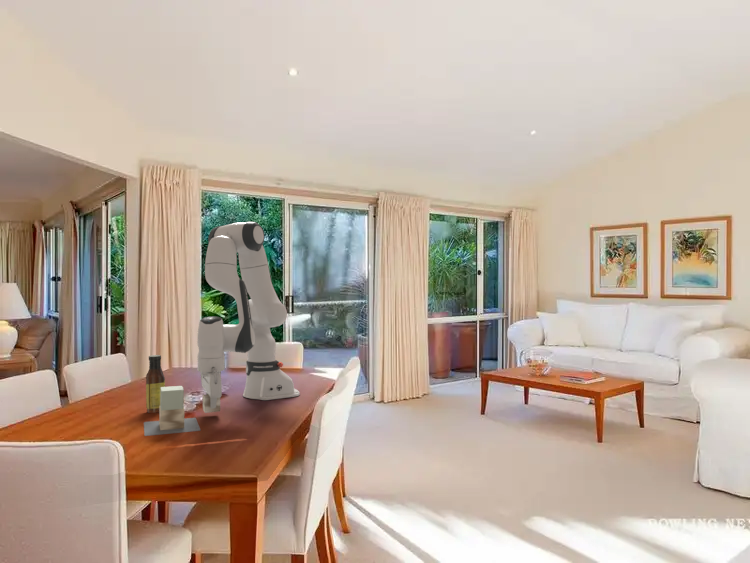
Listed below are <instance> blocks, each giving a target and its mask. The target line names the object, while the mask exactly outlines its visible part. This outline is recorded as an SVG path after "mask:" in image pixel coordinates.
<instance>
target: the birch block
mask: <svg viewBox="0 0 750 563" xmlns="http://www.w3.org/2000/svg"><path fill="white" fill-rule="evenodd" d="M158 413H159V414H158V415H159V417H158V418H159V419H158V421H159V426H160V430H169V429H179V428H184V419H185V408H184V409H175V410H163V411H161V406H159V412H158Z"/></svg>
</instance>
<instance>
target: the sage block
mask: <svg viewBox="0 0 750 563" xmlns="http://www.w3.org/2000/svg"><path fill="white" fill-rule="evenodd" d="M184 396H185V389H184V387H183V385H176V386H175V385H173V386H165V387H161V396H160V406H161V411H163V410H175V409H184V410H185V407H184V406H185V405H184V404H185V403H184V401H185V399H184Z"/></svg>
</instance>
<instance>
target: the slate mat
mask: <svg viewBox="0 0 750 563" xmlns="http://www.w3.org/2000/svg"><path fill="white" fill-rule="evenodd" d="M143 431H144V433H143V434H144V437H148V436H149V437H150V436H159V435H168V434H169V435H170V434H179V433H188V432H189V433H190V432H199V431H201V428H200V424H199V423H198V420H197V418H196V417H189V418H188V417H187V418H185V417H184V428H179V429H169V430H160V426H159V420H151V421H144V422H143Z"/></svg>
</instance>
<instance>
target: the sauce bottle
mask: <svg viewBox="0 0 750 563" xmlns="http://www.w3.org/2000/svg"><path fill="white" fill-rule="evenodd" d="M148 361H149V362H148V363H149V367H148V368H149V369H148V371H147V372H146V375H145V397H146V398H145V402H146V404H145V405H146V413H148V414H152V413H159V406H160V396H161V387H166V378H165V377H166V376H165V375H164V372H163V370H162V366H161V365H162V364H161V361H162V355H159V354H151V355H149V356H148Z"/></svg>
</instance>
